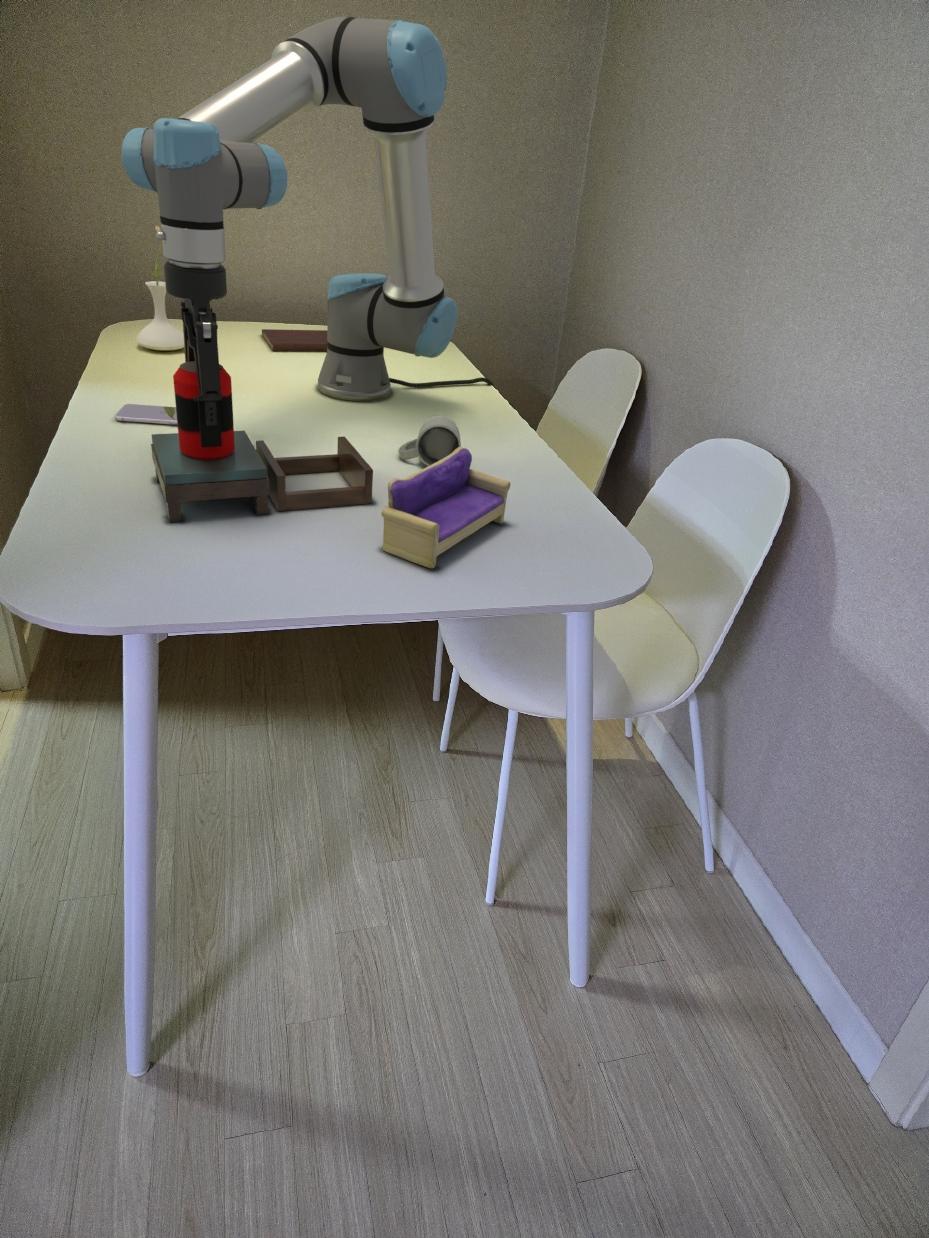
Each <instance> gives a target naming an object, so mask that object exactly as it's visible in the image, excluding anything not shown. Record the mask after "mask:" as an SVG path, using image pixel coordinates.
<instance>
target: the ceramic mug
mask: <svg viewBox="0 0 929 1238" xmlns="http://www.w3.org/2000/svg"><path fill="white" fill-rule="evenodd" d="M461 440H462V439H461V433H460V430H459V427H458V425H457V424H456V423H455V421H453V420H452V419H451V418H450V417H447V416H444V415H435V416H434V415H433V416H431V417H429V418H428V419H426V420H425V421H424V422H423V423H422V425H421V426H420V427H419V430H418V435H417V438H415V439H413V440H409V441H407V442H405V443H404V444H402V445H401V446H400V447H399V448H398V449H397V450H398V454H399V457H400V459H402V460H411V459H415V458H418V459H419V460H420V461H421V462H422V463H423V464H424V465H425V466H426V467H428V466H430V465H432V464H434V463H436V462H438V461H440V460H442V459H443V458H445V457H447V456H449V455H450V454H451V453H452V452H454V451H455V450H456V449H457V448H458V447H462V441H461Z"/></svg>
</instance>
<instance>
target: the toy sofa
mask: <svg viewBox="0 0 929 1238" xmlns="http://www.w3.org/2000/svg"><path fill="white" fill-rule="evenodd" d="M472 461H473V455H472V453H471V451H470V450H469V449H468V448H466V447H462V446H461V447H458V448H457V449H456V450H455V451H454V452H452V453H451V454H450V455H449V456H447V457H445V458H443V459H442V460H440V461H438V462H436V463H434V464H432V465H430V466H426V467H424V468H422V469H420V470H418V471H417V472H414V473H412V474H411V475H409V476H406V477H404V478H392V479H389V481H388V484H387V497H388V498H387V499H388V503H387V504H388V505H385V506H383V507H382V509H381V513H380V514H381V517H382V518H383V533H382V534H383V535H382V539H383V540H382V551H384V552H386V553H388V554H391V555H393V556H395V557H396V556H397V557H399V558H402V559H403V560H407V561H409V562H412V563H414V564H417V565H420V566H423V567H426V568H428V569H434V568H436V566H437V558H438V557H439V555H441V554H443V553H445V551H447V550H450V549H451V548H452V547H454V546H455V545H457V544H458V543H460V542H461V541H462V540H464V539H466V538H467V537H469V536H471V535H472V534H473V533H475V532H477V531H478V530H480V529H481V528H483V527H484V526H486V525H488V524H490V523H491V522H495V523H498V524H503V523H504V518H505V512H506V505H507V498H508V493H509V491H510V489H511V486H512V485H511V482H510V481H508V480H505V479H502V478H500V477H496V476H493V475H490V474H487V473H485V472H481V471H478V470H475V469H473V468H471V465H472Z"/></svg>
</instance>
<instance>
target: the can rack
mask: <svg viewBox="0 0 929 1238" xmlns="http://www.w3.org/2000/svg"><path fill="white" fill-rule="evenodd" d="M255 449H256V451H257V453H258V454H259V456H260V458H261V459H262V461H263V463H264V464H265V466H266V468H267V476H268V478H269V492H270V495H268V497H269V498H270V500H271V501H272V503H273V505H274V507H275V509H276V510H277V512H287V511H299V510H308V509H309V510H310V509H311V510H312V509H320V508H321V509H323V508H334V507H345V506H347V507H348V506H357V505H368V504H372V501H373V483H374V482H373V481H374V480H373V478H374V477H373V476H374V469H373V468H372V467H371V466H370V465H369V463H368V462H367V461H366V460H365V458H364V457H363V456H362V455H361V454H360V453H359V452H358V450H357V449H356V448H355V447H354V445H353V444H352V443H351V442H350V441H349V440H348V439H347V437H346V436H343V435H342V436H337V450H336V451H337V453H336V454H319V455H318V454H316V455H301V456H299V455H297V456H282V457H281V456H280V457H274V455H273V453H272V452H271V450H270V449H269V447H268V446H267V444H266V442H265V441H264V439H262V440H261V439H259V440H258V439H257V440H255ZM329 472H331V473H332V472H339V473H340V474H341V476H342V477H343V479H344V480H345V481H346V482H347V483H348V485H349V486H345V487H331V488H329V487H328V488H320V489H319V488H317V489H305V490H292V491H291V490H290V491H286V490H287V487H286V486H287V484H286V480H287V479H286V475H297V474H314V473H329Z"/></svg>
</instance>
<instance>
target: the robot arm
mask: <svg viewBox="0 0 929 1238" xmlns="http://www.w3.org/2000/svg"><path fill="white" fill-rule="evenodd" d="M447 72H448V71H447V63H446V59H445V54H444V52H443V48H442V46H441V44H440V41H439V39H438V37H437V36H435V33H434V32H433V31H432V30H431V29H430V28H429V27H428V26H426V25H424V24H421V23H414V22H410V21H408V20H404V19H387V18H385V19H384V18H383V19H382V18H363V17H353V16H337V17H333V18H328V19H326V20H323V21H320V22H318V23H316V24H313V25H311V26H309V27H306V28H305V29H303V30H301V31H299V32H297V33H295V34H293V35H292V36H289V37H288V38H287V39H285V40H283V41H281V42H280V43H279V44H277V45H276V46H275V48H274V49H273V50H272V53H271V57H270V59H269V60H267V61H266V62H264V63H263V64H260V65H258V66H257V67H256V68H254V69H253V70H251V71H250V72H248V73H247V74H245V75H243V76H242V77H240V78H239V79H237V80H236V81H234V82H232V83H231V84H229V85H228V86H226V87H224V88H222V90H220V91H218V92H216V93H214V94H213V95H212V96H210V97H208V98H207V99H206V100H203V101H202V102H200V103H199V104H197V105H196V106H195V107H192V108H191V109H190V110H187V111H186V112H185V113H183V114H181V115H180V116H179V117H177V118H170V117H161V118H158V119H157V120H156V121H155V122H154V124H153V127H151V126H145V127H135V128H132V129H130V130H129V131H128V132H127V133H126V134H125V136H124V139H123V140H122V144H121V152H120V155H121V163H122V165H123V167H124V171H125V174H126V175H127V177H128V178H129V180H130V181H132V183H133V184H134V185H136V186H137V187H139V188H141V189H144V190H148V191H151V192H154V193H156V194H157V199H158V209H159V219H160V229H162V231H161V232H157V231H156V233H155V234H156V239H157V240H158V241H162V240H163V243H162V242H161V244H163V248H162V254H163V255H162V256H163V257H164V258H166V260H167V261H166V262H165V264H163V274H164V280H165V281H164V282H165V284H166V293H168V294H169V295H170V296H172V297H175V298H178V299H181V300H180V303H179V304H180V317H181V321H182V332H183V333H184V347H183V348H184V363H185V362H190V361H195V365H196V373H197V381H198V390H199V395H198V396H199V397H194V402H198V412H199V426H200V440H201V447H220V446H222V439H221V421H220V404H219V401H222V394H221V382H220V369H219V364H220V359H219V358H220V357H219V345H218V344H219V343H218V329H219V325H218V323H217V322H218V321H217V315H216V312H213V308H211V303H210V302H211V301H212V300H220V299H223V298H225V297H226V296H227V294H228V287H227V269H226V268H225V266H224V265H223V264H222V263H224V262H226V259H227V258H226V235H225V226H224V225H225V224H224V210H228V209H229V210H230V209H232V210H233V209H257V210H262V209H264V208H269V207H274V206H276V205H277V204H279V203H280V202H281V201H282V200H283V198H284V197H285V194H286V192H287V189H288V179H289V178H288V173H287V172H288V171H287V166H286V164H285V161H284V160H283V158H282V156H281V154H280V153H279V152H278V151H277V150H276V149H275V148H273V147H272V146H270V145H267V144H262V143H259V142H257V141H259V140H260V139H262V138H263V137H265V136H267V135H268V134H269V133H270V132H272V131H273V130H275V129H276V128H277V127H279V126H280V125H282V124H284V123H285V122H286V121H287V120H290V118H292V117H294V116H295V115H296V114H297V113H299V112H302V113H310V112H313V111H315V110H316V109H318V108H319V107H321V106H325V105H343V106H351V107H357V108H361V116H362V122H363V123H362V124H363V127H364V129H365V130H366V131H367V132H368V133H369V134H371V135H372V137H373V138H374V146H375V156H376V166H377V174H378V184H379V192H380V202H381V203H380V204H381V211H382V213H381V214H382V221H383V228H384V229H383V230H384V240H385V248H386V249H385V250H386V257H387V267H388V276H387V275H385V274H382V273H374V272H373V273H372V272H371V273H367V272H366V273H363V272H362V273H361V272H359V273H344V274H338V275H334V276H333V277H332V278H331V279H330V280H329V282H328V288H327V297H326V301H327V323H326V324H327V326H326V327H327V352H326V353H325V354H326V355H325V357H324V359H323V363H322V366H321V369H320V370H319V371H320V372H319V375H318V378H317V390H318V391H319V392H320V393H322V394H323V395H325V396H327V397H331V398H334V399H338V400H344V401H350V402H351V401H352V402H372V401H379V400H382V399H386V398H387V397H389V396H390V395H391V385H392V384H395V385H396V384H397V385H399V386H403V387H408V388H414V389H415V388H416V389H417V388H418V389H419V388H430V387H441V386H443V387H444V386H457V385H474V384H476V383H486V384H487V386H494V383H493V382H492V381H491V380H490V379H489V378H487V377H476V378H472V379H457V380H439V381H429V382H408V381H405V380H401V379H398V378H397V379H396V378H392V377H390V376H389V372H388V368H387V364H386V361H385V355H384V351H385V349H388V350H393V351H398V352H402V353H406V354H410V355H413V356H415V357H417V358H418V357H422V358H429V359H433V358H437V357H440V356H441V355H442V354H443V353H444V352H445V350H446V349H447V347H448V346H449V344H450V342H451V341H452V338H453V335H454V332H455V329H456V325H457V321H458V320H457V319H458V307H457V303H456V301H455V300H454V299H453V298H451V297H450V296H446V295H445V284H444V281H443V279H442V278H441V277H440V276H439V275H438V274H436V269H435V268H436V267H435V252H434V237H433V236H434V235H433V222H432V205H431V194H430V193H431V191H430V177H429V176H430V174H429V173H430V172H429V160H428V145H427V144H428V143H427V142H428V141H427V132H428V131H429V130H430V129H431V127H432V126H433V125H434V124H435V115H436V114H438V113H439V112H440V110H441V109H442V106H443V104H444V102H445V99H446V94H445V91H446V90H447V85H448V82H447V81H448V73H447Z"/></svg>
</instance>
